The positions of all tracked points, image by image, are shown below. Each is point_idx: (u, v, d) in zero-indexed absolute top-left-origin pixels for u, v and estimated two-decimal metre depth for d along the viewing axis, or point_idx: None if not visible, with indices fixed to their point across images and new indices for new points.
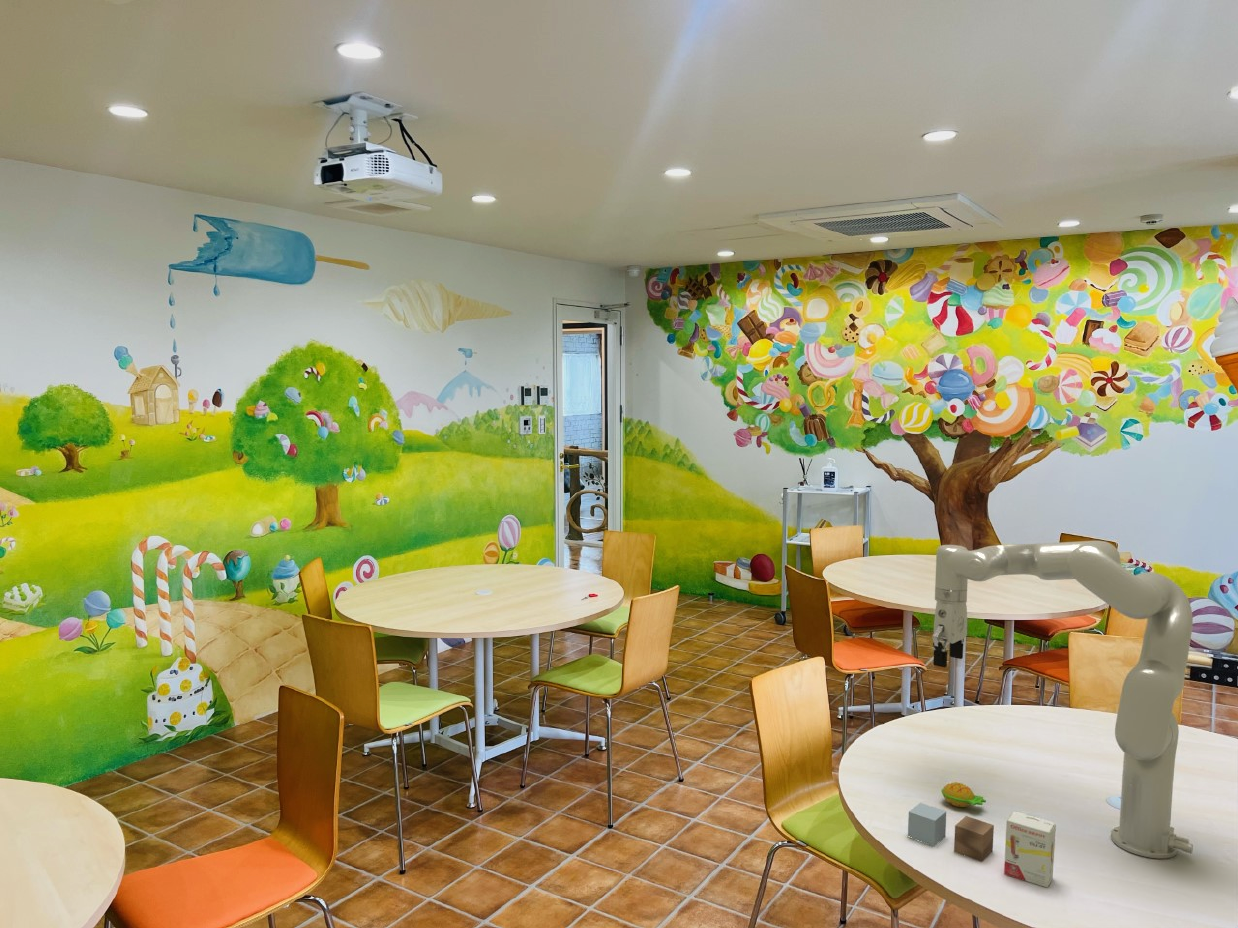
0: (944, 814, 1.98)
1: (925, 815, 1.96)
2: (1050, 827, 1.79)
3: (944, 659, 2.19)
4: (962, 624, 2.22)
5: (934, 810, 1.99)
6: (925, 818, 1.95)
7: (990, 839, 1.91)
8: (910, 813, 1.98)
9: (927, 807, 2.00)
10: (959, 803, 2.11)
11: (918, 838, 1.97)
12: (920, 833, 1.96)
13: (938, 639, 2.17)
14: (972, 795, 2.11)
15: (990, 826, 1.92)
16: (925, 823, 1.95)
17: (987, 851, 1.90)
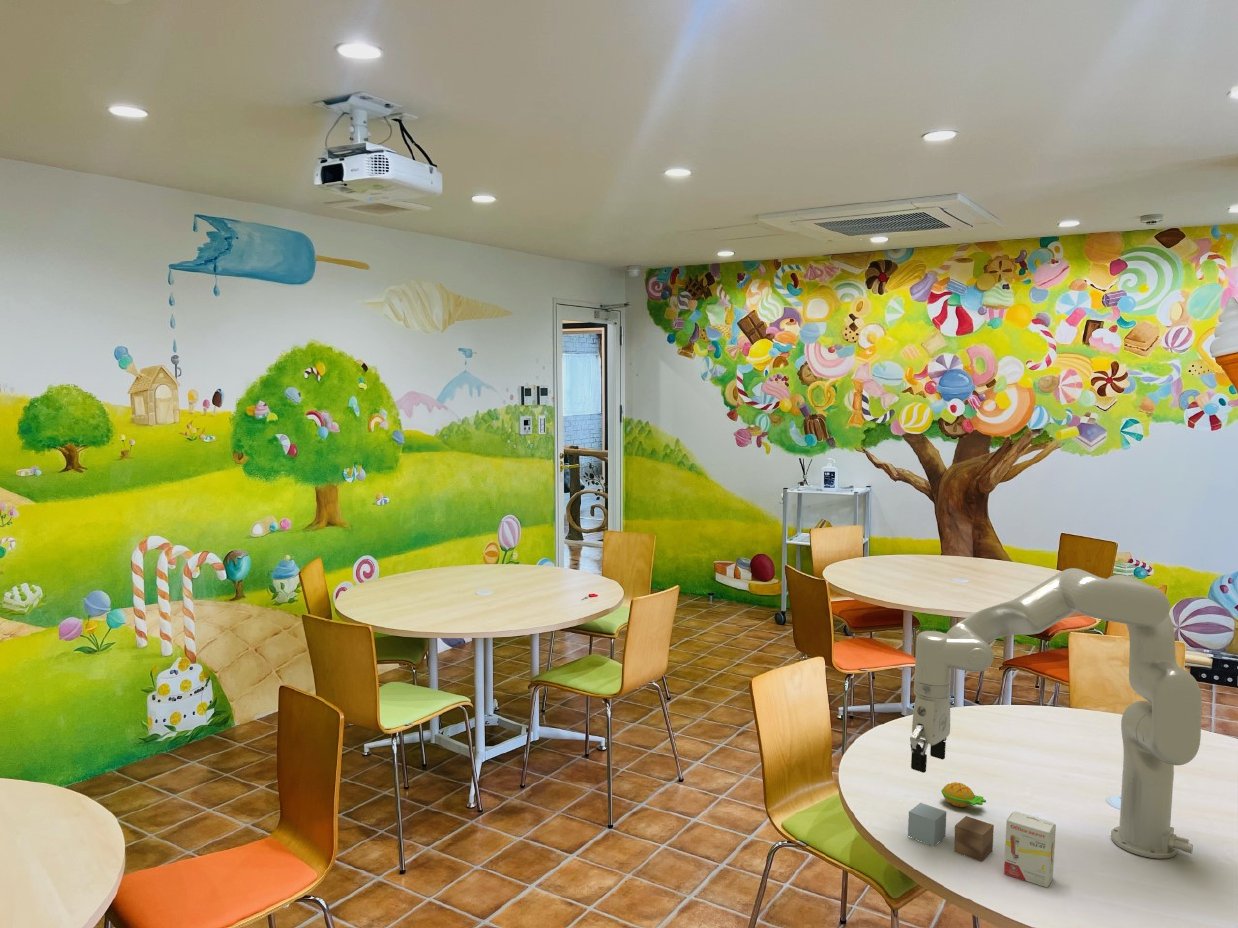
0: (944, 814, 1.98)
1: (925, 815, 1.96)
2: (1050, 827, 1.79)
3: (923, 763, 1.92)
4: (944, 722, 1.95)
5: (934, 810, 1.99)
6: (925, 818, 1.95)
7: (990, 839, 1.91)
8: (910, 813, 1.98)
9: (927, 807, 2.00)
10: (959, 803, 2.11)
11: (918, 838, 1.97)
12: (920, 833, 1.96)
13: (916, 741, 1.90)
14: (972, 795, 2.11)
15: (990, 826, 1.92)
16: (925, 823, 1.95)
17: (987, 851, 1.90)
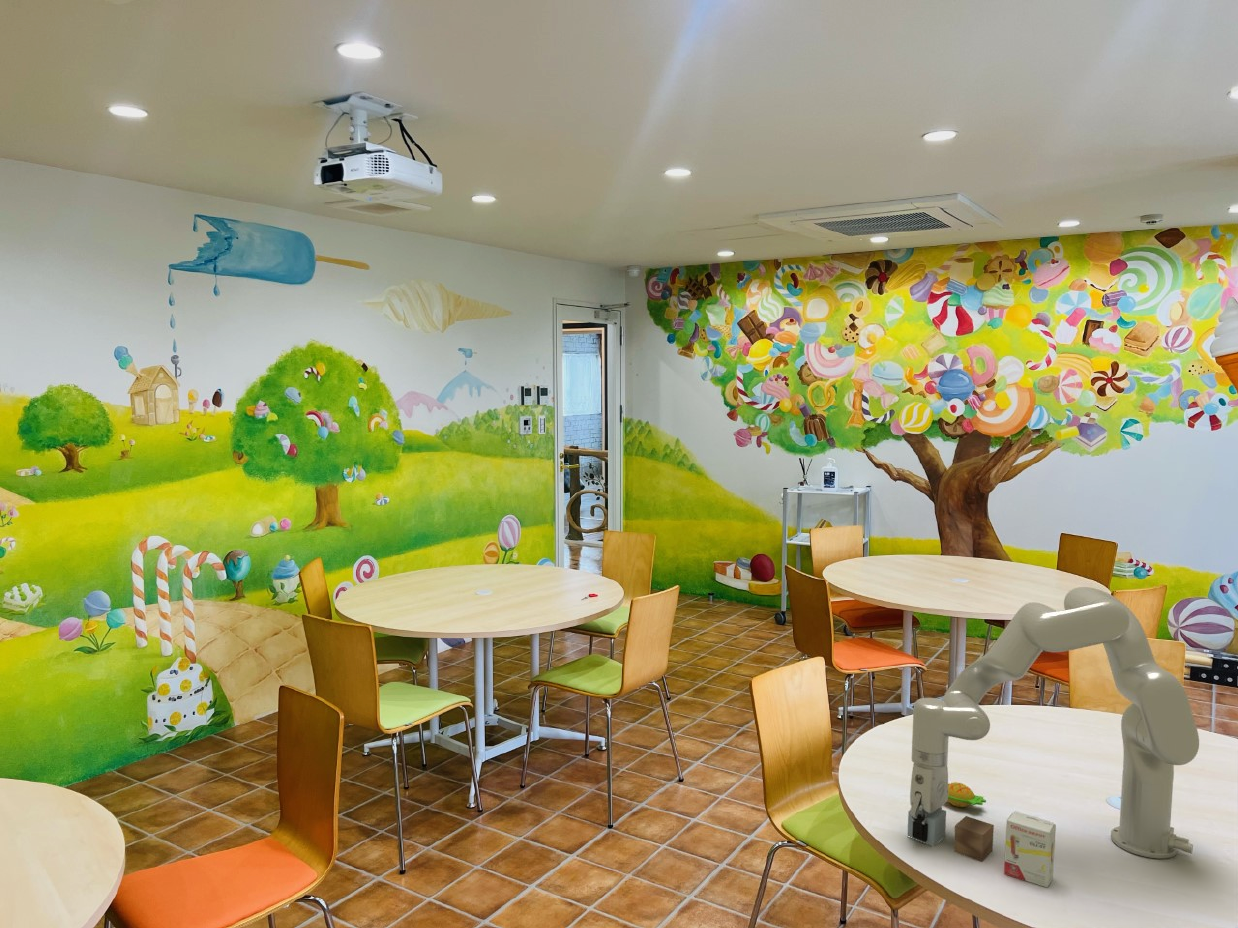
0: (944, 814, 1.98)
1: None
2: (1050, 827, 1.79)
3: (924, 832, 1.95)
4: (942, 789, 1.96)
5: None
6: None
7: (990, 839, 1.91)
8: None
9: None
10: (959, 803, 2.11)
11: None
12: None
13: (916, 814, 1.93)
14: (972, 795, 2.11)
15: (990, 826, 1.92)
16: None
17: (987, 851, 1.90)
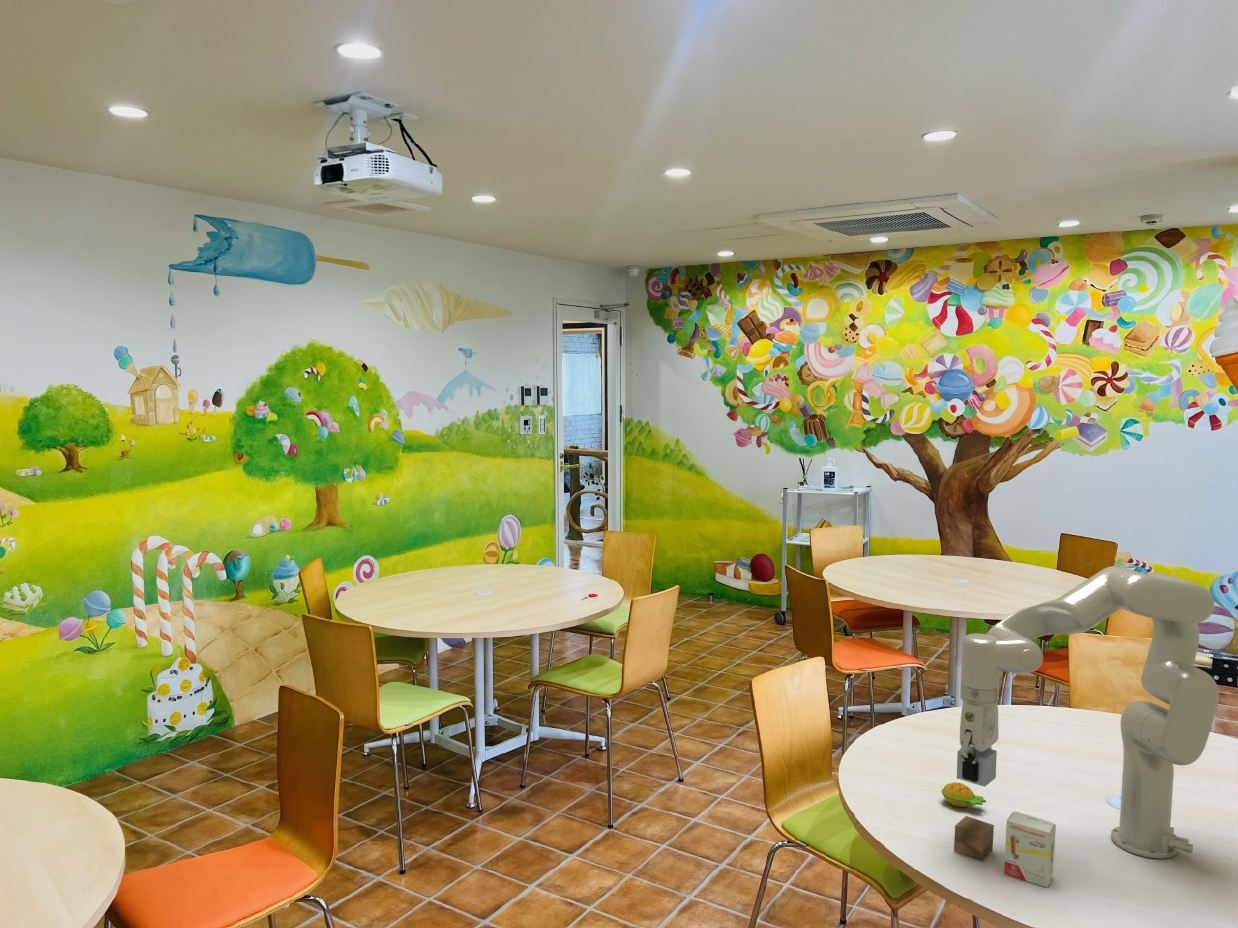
0: (994, 753, 1.90)
1: None
2: (1050, 827, 1.79)
3: (975, 772, 1.88)
4: (993, 727, 1.89)
5: None
6: None
7: (990, 839, 1.91)
8: (959, 753, 1.90)
9: None
10: (959, 803, 2.11)
11: None
12: None
13: (967, 752, 1.85)
14: (972, 795, 2.11)
15: (990, 826, 1.92)
16: None
17: (987, 851, 1.90)
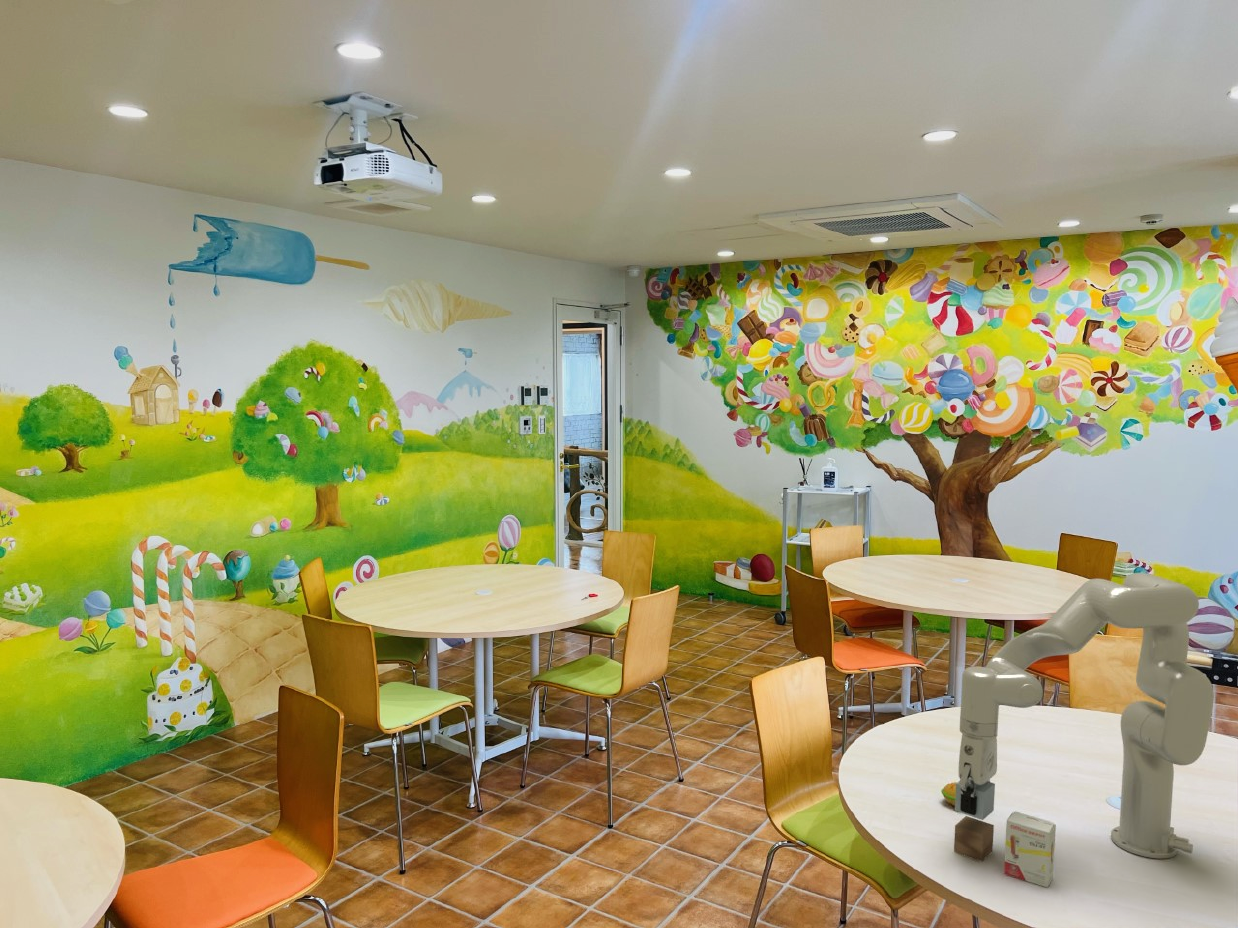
0: (993, 786, 1.91)
1: None
2: (1050, 827, 1.79)
3: (973, 805, 1.88)
4: (992, 761, 1.90)
5: None
6: None
7: (990, 839, 1.91)
8: (957, 785, 1.91)
9: None
10: None
11: None
12: None
13: (966, 785, 1.86)
14: None
15: (990, 826, 1.92)
16: None
17: (987, 851, 1.90)
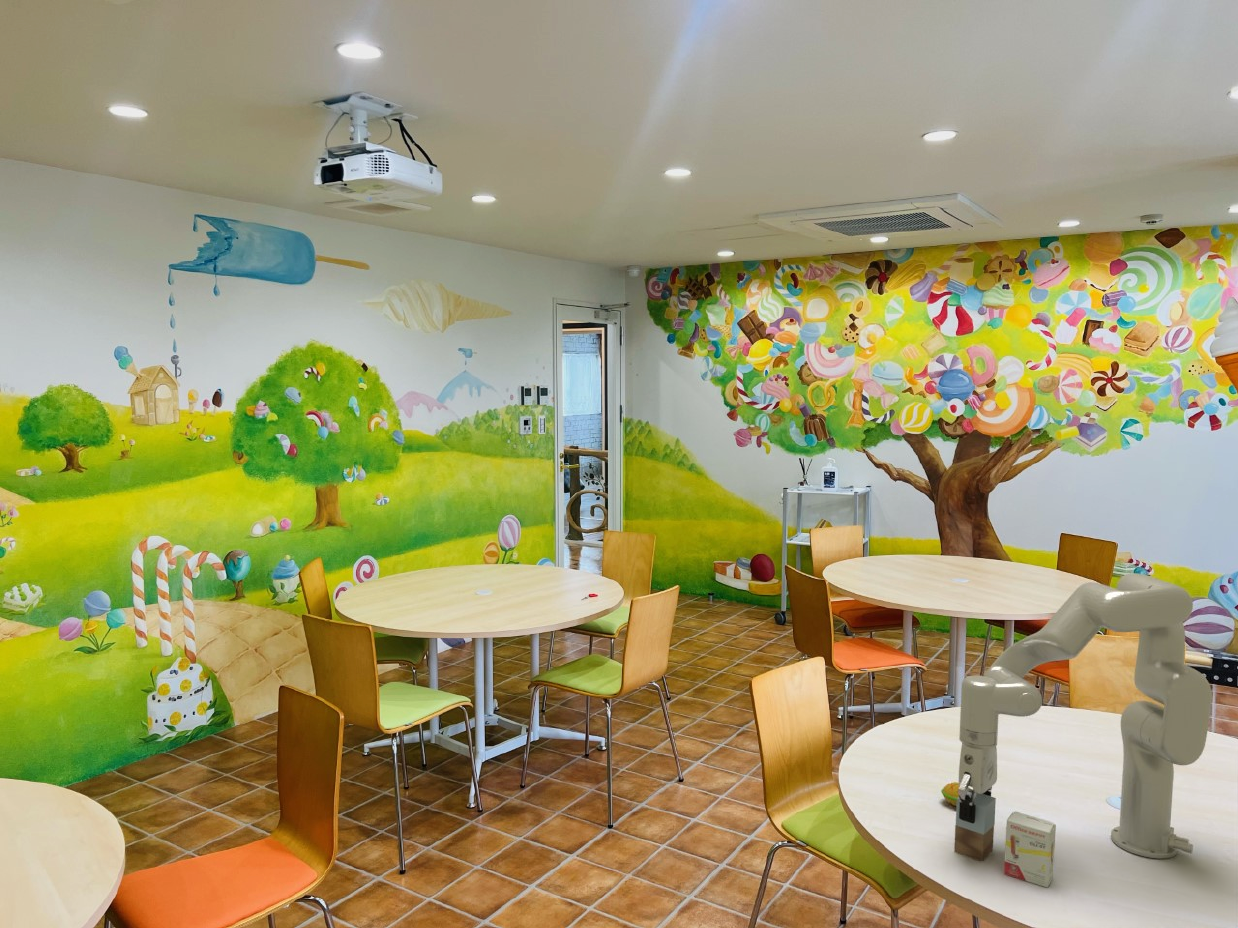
0: (993, 801, 1.91)
1: (974, 802, 1.89)
2: (1050, 827, 1.79)
3: (972, 814, 1.87)
4: (992, 769, 1.90)
5: (983, 797, 1.92)
6: None
7: (990, 838, 1.91)
8: (958, 800, 1.91)
9: None
10: None
11: (967, 826, 1.90)
12: None
13: (965, 793, 1.85)
14: None
15: None
16: None
17: (987, 851, 1.90)
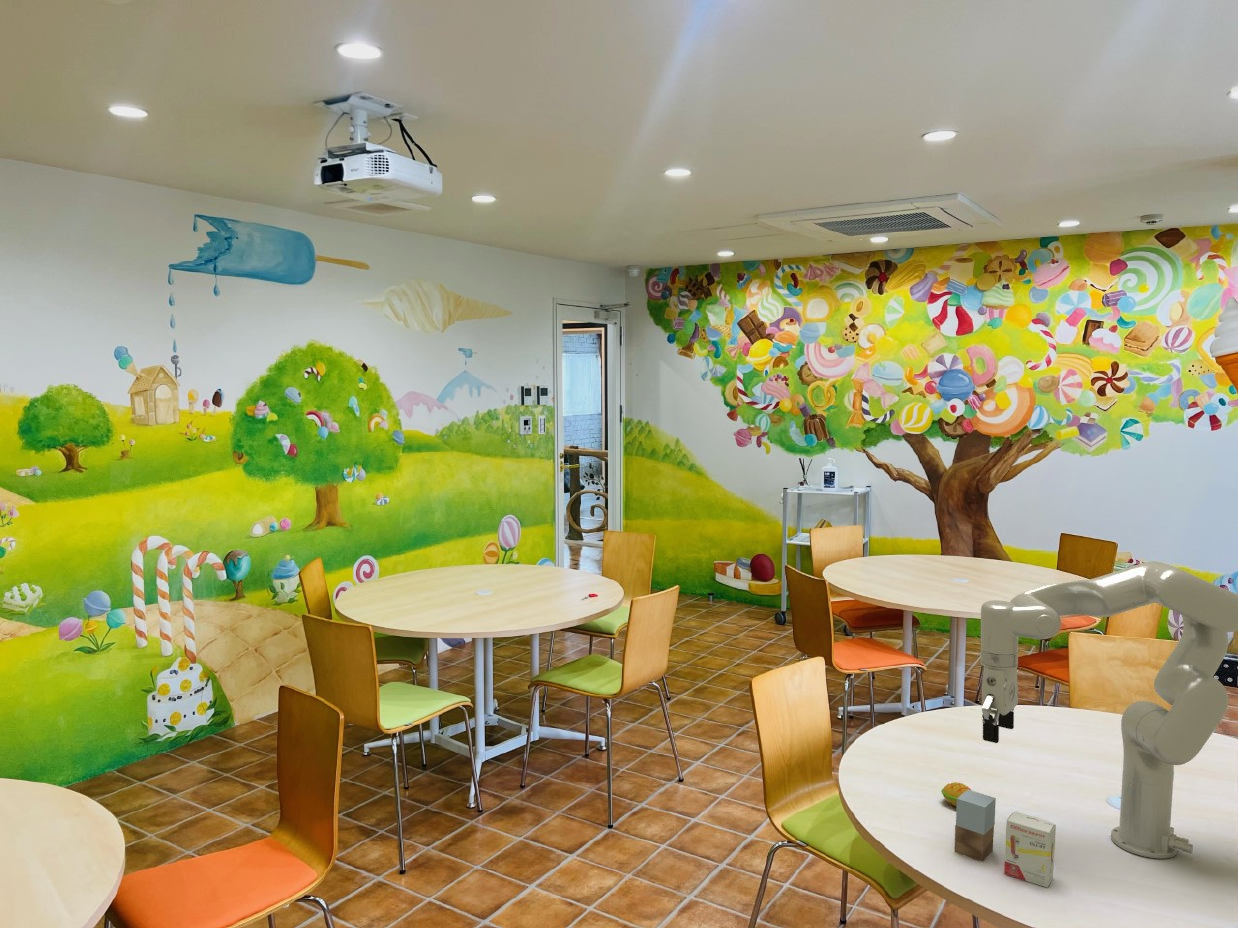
0: (993, 801, 1.91)
1: (975, 802, 1.89)
2: (1050, 827, 1.79)
3: (995, 733, 1.91)
4: (1013, 691, 1.94)
5: (983, 797, 1.92)
6: (975, 805, 1.89)
7: (990, 838, 1.91)
8: (958, 800, 1.91)
9: (975, 794, 1.93)
10: None
11: (967, 826, 1.90)
12: (969, 821, 1.90)
13: (989, 712, 1.89)
14: None
15: None
16: (975, 810, 1.89)
17: (987, 851, 1.90)
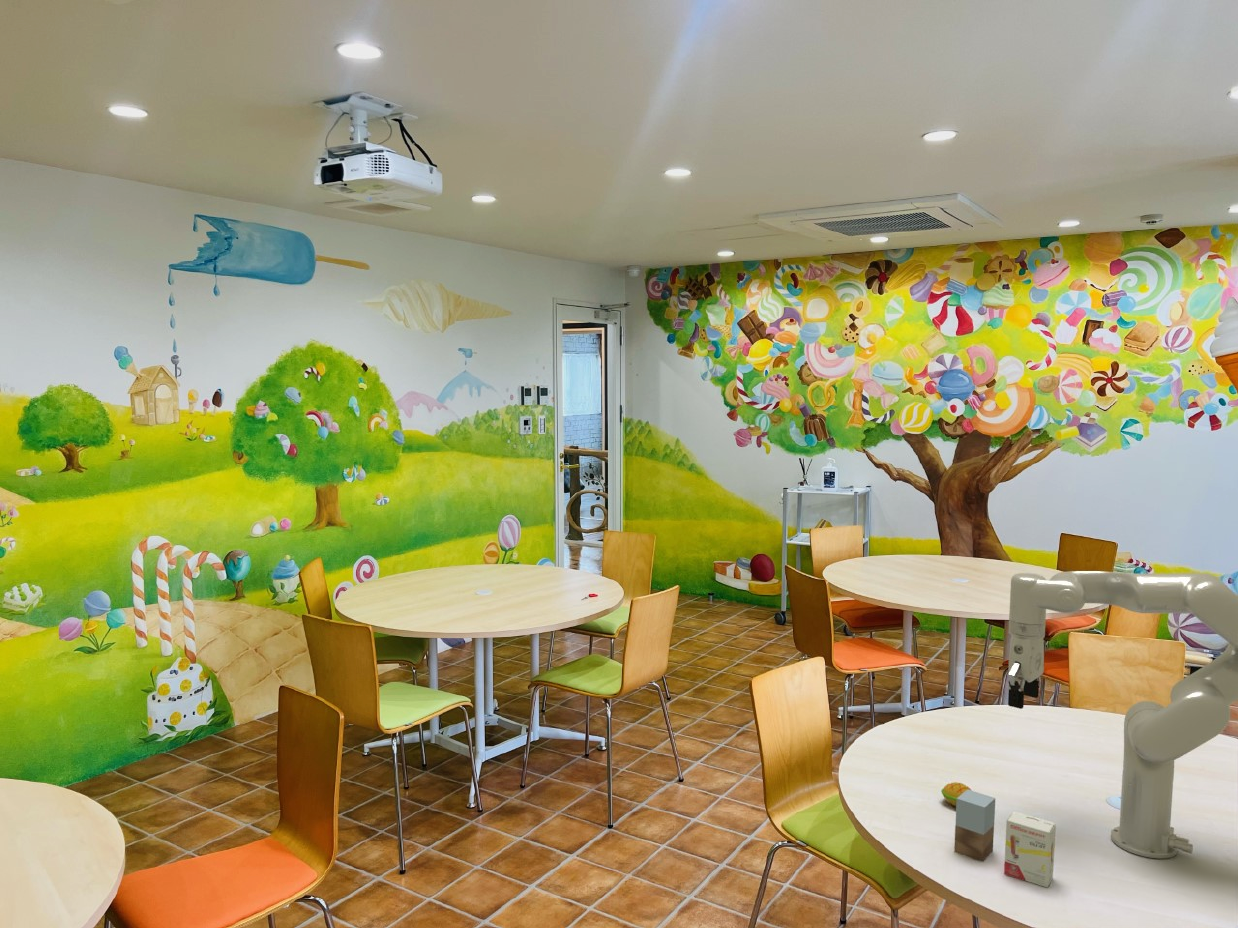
0: (993, 801, 1.91)
1: (974, 802, 1.89)
2: (1050, 827, 1.79)
3: (1021, 699, 1.99)
4: (1039, 660, 2.02)
5: (983, 797, 1.92)
6: (974, 805, 1.89)
7: (990, 838, 1.91)
8: (958, 800, 1.91)
9: (975, 794, 1.93)
10: None
11: (967, 826, 1.90)
12: (968, 821, 1.90)
13: (1015, 678, 1.97)
14: None
15: None
16: (974, 810, 1.89)
17: (987, 851, 1.90)
